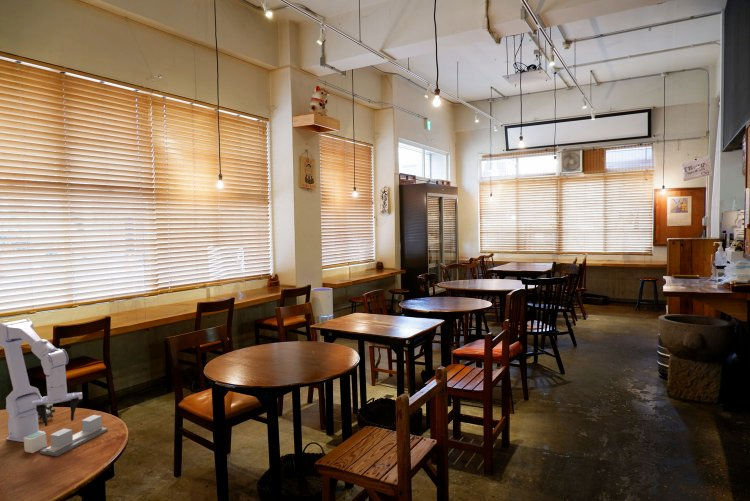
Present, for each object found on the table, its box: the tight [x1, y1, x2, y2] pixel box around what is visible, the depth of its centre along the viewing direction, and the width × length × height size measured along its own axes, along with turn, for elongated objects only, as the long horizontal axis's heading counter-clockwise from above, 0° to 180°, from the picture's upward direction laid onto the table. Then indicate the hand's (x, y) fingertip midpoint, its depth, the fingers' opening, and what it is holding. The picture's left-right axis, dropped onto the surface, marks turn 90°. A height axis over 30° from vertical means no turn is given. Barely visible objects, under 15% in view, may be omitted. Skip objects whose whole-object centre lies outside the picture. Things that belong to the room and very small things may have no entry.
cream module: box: [23, 432, 48, 454], centre depth 164 cm, size 4×5×5 cm
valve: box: [37, 395, 56, 421], centre depth 193 cm, size 7×7×12 cm
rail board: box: [39, 414, 108, 457], centre depth 169 cm, size 8×20×6 cm, turn 161°
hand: (59, 422), depth 165 cm, fingers open, 7 cm apart
